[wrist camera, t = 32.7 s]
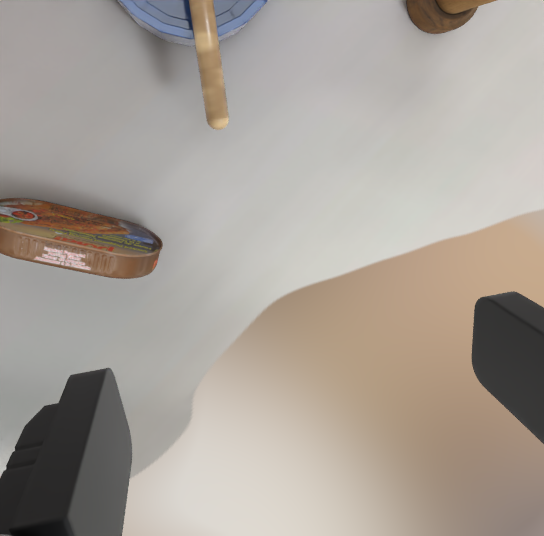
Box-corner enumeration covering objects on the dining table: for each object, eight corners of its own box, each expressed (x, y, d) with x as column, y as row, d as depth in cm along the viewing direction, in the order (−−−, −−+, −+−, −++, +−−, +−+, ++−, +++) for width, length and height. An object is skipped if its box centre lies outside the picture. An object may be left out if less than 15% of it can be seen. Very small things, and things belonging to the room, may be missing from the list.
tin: (164, 230, 47) (161, 256, 39) (157, 258, 48) (153, 290, 40) (3, 190, 43) (-37, 211, 35) (-2, 222, 44) (-41, 249, 36)
